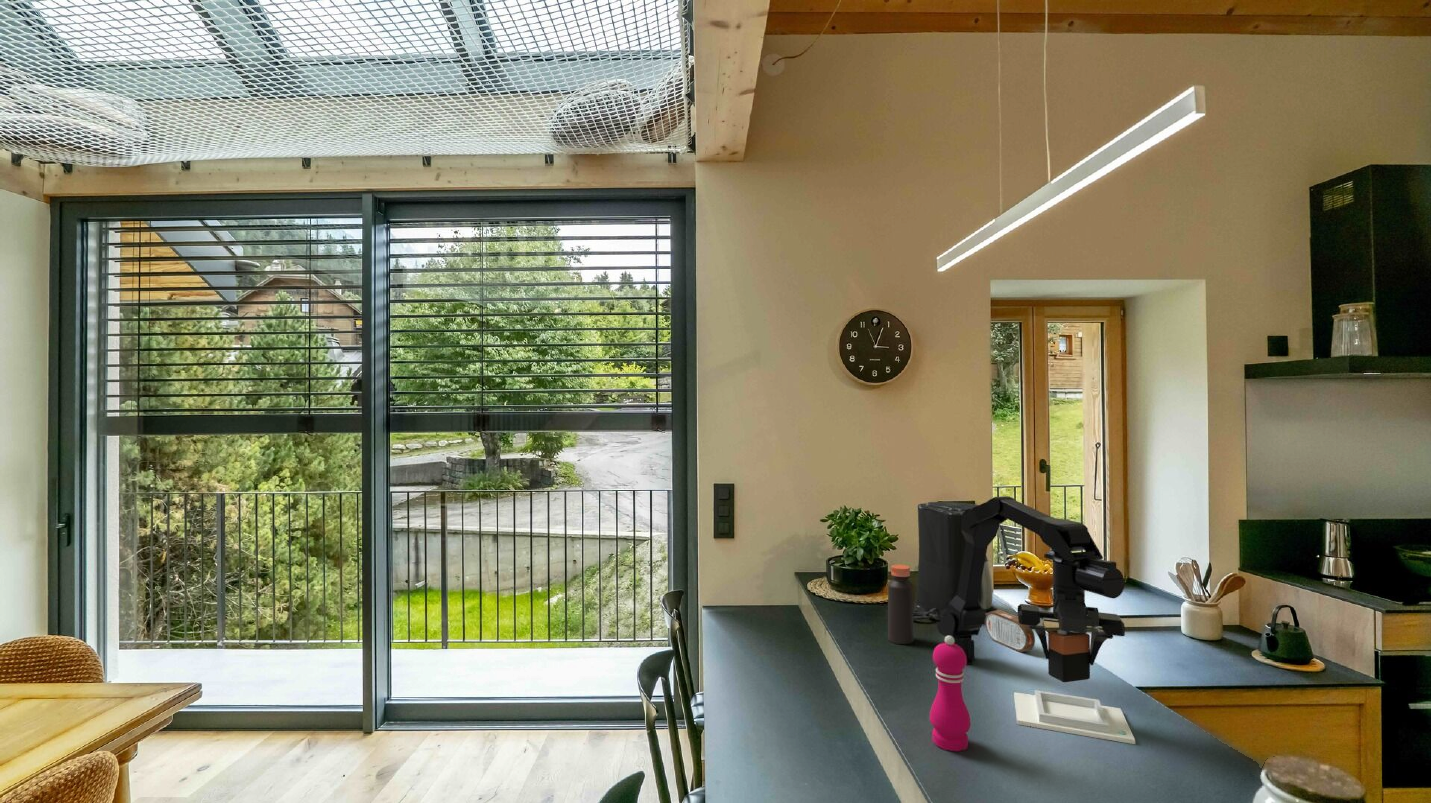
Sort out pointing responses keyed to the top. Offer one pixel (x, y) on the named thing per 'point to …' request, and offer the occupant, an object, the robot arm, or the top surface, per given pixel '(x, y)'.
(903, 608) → the bottle
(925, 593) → the coffee maker
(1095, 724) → the charging cradle
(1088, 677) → the battery
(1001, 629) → the tin
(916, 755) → the top surface
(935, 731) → the pepper mill
